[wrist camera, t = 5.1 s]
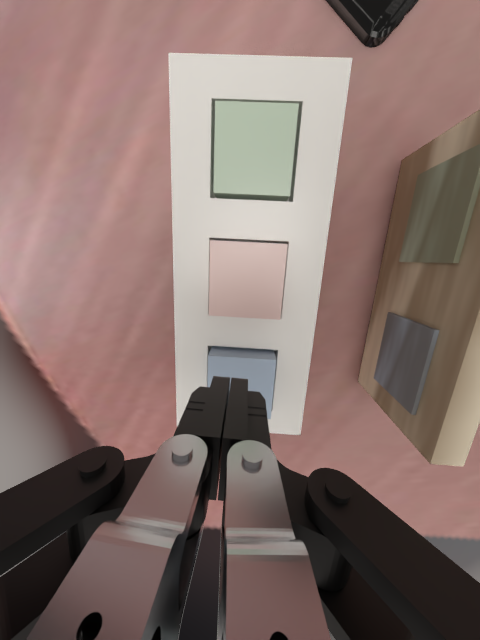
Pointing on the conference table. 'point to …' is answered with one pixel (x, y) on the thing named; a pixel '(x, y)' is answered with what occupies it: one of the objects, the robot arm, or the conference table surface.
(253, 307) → the key rose
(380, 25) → the phone
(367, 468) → the conference table surface
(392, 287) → the card
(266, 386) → the key slate
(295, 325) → the keypad
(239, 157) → the key sage
